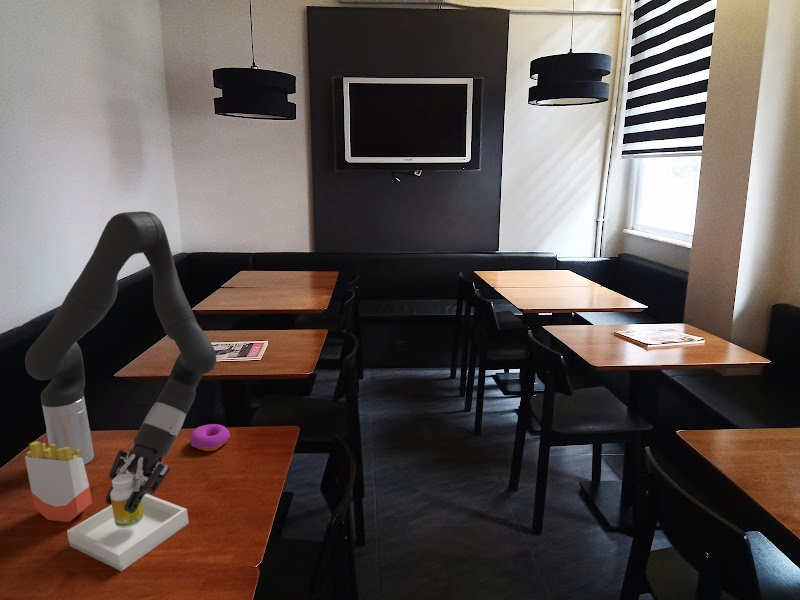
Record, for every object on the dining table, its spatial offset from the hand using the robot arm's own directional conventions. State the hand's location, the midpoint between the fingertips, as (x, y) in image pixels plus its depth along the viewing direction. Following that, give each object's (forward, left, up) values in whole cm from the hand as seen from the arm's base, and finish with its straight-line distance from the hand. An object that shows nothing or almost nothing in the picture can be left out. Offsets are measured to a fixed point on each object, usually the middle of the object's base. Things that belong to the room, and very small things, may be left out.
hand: (118, 507), depth 112 cm
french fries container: (-19, 0, -8) cm, 21 cm away
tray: (0, +2, -7) cm, 8 cm away
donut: (-15, +37, -8) cm, 41 cm away
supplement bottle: (0, +2, -4) cm, 5 cm away
